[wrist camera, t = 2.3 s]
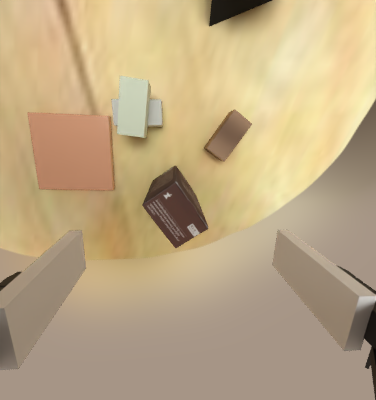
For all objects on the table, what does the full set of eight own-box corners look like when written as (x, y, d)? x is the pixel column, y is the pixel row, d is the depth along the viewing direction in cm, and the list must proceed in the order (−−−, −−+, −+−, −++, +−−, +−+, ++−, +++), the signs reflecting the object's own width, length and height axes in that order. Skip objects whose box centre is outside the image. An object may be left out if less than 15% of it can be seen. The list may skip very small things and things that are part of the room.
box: (150, 181, 32) (139, 204, 20) (175, 164, 31) (179, 177, 20) (173, 213, 33) (175, 250, 22) (197, 197, 33) (212, 227, 21)
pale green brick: (146, 138, 27) (143, 137, 24) (122, 134, 27) (117, 133, 24) (150, 87, 26) (148, 80, 23) (125, 83, 26) (119, 75, 23)
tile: (43, 187, 31) (39, 189, 30) (32, 113, 28) (27, 112, 27) (114, 188, 31) (112, 190, 31) (110, 116, 29) (108, 116, 28)
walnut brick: (219, 159, 32) (224, 161, 29) (203, 147, 31) (207, 148, 28) (244, 125, 31) (252, 124, 28) (228, 112, 30) (234, 109, 27)
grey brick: (119, 126, 30) (114, 125, 27) (117, 103, 29) (111, 99, 26) (162, 126, 30) (162, 125, 27) (162, 103, 29) (161, 99, 26)
